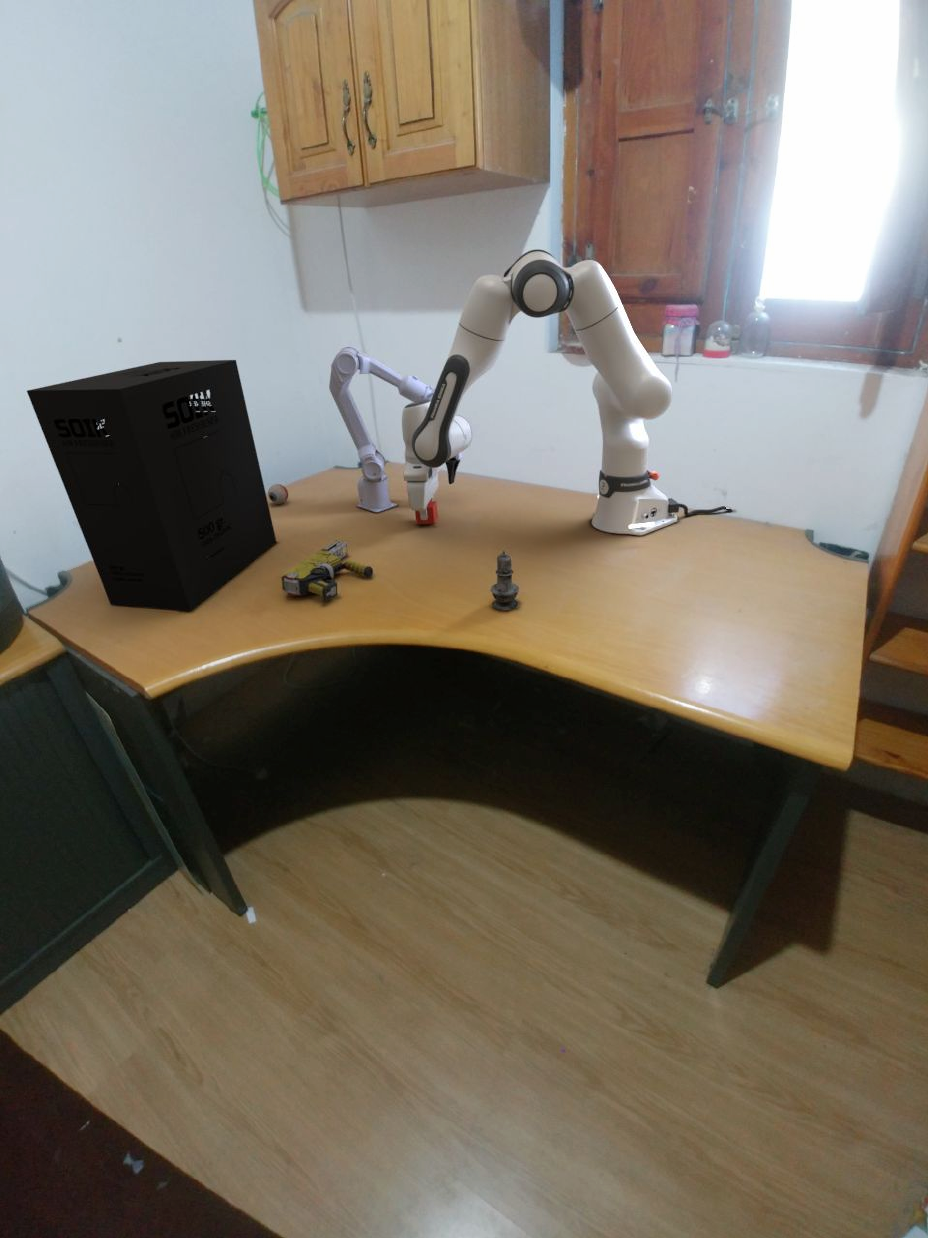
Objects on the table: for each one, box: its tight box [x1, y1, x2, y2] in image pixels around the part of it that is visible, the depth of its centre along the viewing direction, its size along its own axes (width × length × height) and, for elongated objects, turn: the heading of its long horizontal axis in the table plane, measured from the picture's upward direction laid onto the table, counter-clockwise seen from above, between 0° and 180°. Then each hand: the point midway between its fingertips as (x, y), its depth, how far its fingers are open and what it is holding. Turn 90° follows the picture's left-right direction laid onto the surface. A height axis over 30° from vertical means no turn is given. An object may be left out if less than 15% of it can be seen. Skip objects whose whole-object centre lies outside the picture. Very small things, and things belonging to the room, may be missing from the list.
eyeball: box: [267, 483, 289, 505], centre depth 187 cm, size 6×6×6 cm
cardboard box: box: [26, 359, 277, 612], centre depth 135 cm, size 38×20×45 cm, turn 167°
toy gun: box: [281, 539, 374, 603], centre depth 138 cm, size 5×24×15 cm
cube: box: [414, 500, 439, 525], centre depth 166 cm, size 5×5×5 cm
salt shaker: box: [490, 550, 520, 611], centre depth 121 cm, size 6×6×12 cm
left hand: (440, 481), depth 179 cm, fingers open, 7 cm apart
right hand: (427, 514), depth 166 cm, fingers closed on cube, 5 cm apart
